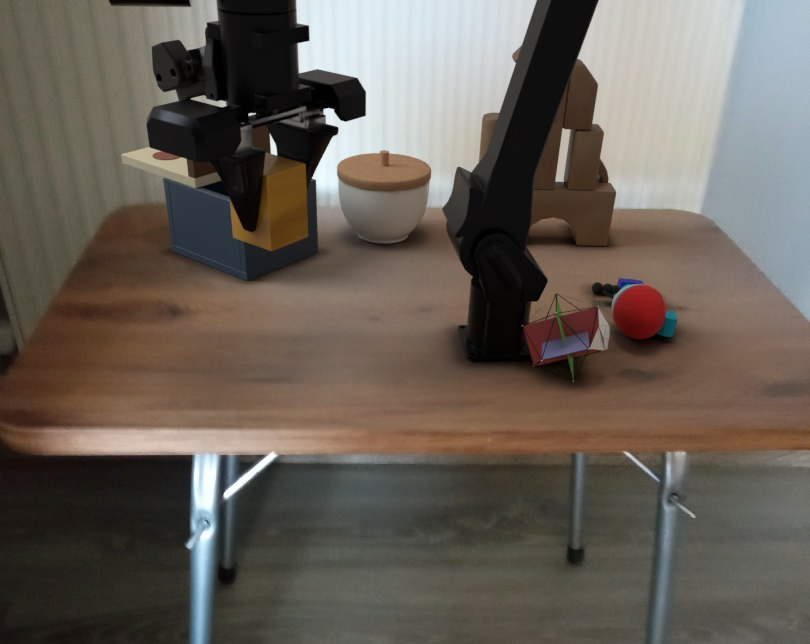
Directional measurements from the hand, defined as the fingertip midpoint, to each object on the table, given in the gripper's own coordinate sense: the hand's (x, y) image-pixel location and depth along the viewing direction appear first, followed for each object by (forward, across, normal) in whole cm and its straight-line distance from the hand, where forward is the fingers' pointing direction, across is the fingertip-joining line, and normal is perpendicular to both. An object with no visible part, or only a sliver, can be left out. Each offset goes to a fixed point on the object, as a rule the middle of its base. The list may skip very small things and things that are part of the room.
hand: (270, 223), depth 75 cm
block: (+1, 0, 0) cm, 1 cm away
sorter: (+12, -15, -20) cm, 27 cm away
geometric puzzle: (+12, -14, +22) cm, 29 cm away
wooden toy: (+12, -42, +2) cm, 44 cm away
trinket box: (+12, -30, -12) cm, 34 cm away
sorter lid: (+4, -15, -26) cm, 31 cm away
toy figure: (+12, -28, +22) cm, 38 cm away
